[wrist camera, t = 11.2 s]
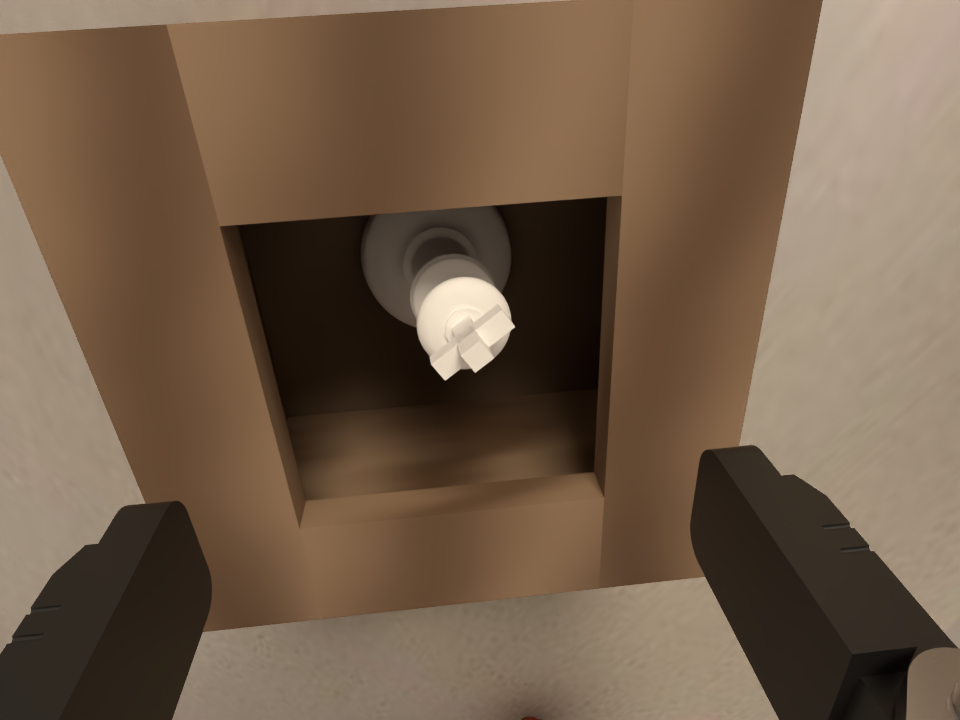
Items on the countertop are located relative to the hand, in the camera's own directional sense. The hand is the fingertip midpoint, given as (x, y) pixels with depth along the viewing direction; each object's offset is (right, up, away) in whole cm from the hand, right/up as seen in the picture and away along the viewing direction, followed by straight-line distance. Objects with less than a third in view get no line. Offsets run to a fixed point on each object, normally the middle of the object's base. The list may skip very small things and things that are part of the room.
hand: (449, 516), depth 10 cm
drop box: (-1, +6, +11) cm, 13 cm away
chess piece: (-1, +6, +11) cm, 12 cm away
